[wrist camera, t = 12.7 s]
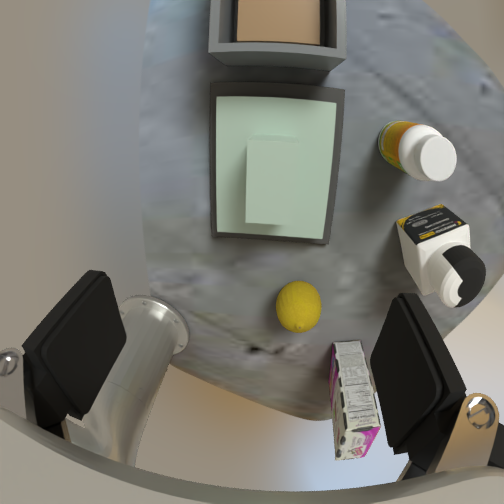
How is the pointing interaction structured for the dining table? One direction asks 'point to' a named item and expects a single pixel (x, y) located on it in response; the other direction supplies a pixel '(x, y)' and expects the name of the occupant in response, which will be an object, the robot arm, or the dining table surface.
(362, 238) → the dining table surface
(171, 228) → the dining table surface
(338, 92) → the mat
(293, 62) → the storage box
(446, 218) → the medicine bottle
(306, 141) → the lid
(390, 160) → the supplement bottle
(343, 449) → the candy bar box
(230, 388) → the dining table surface
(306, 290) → the lemon
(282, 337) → the dining table surface
